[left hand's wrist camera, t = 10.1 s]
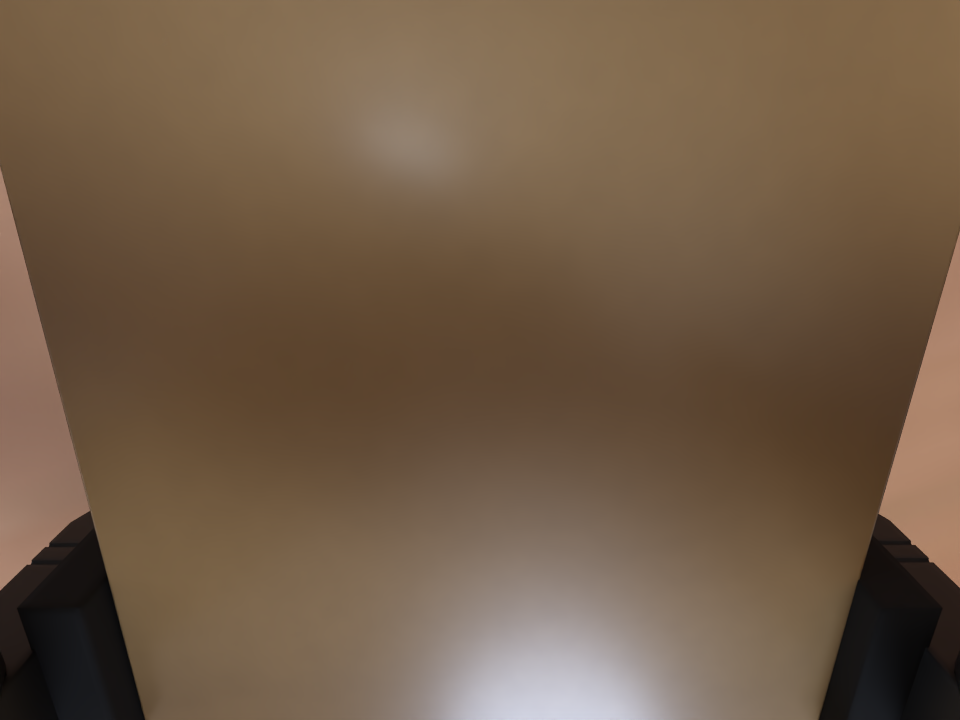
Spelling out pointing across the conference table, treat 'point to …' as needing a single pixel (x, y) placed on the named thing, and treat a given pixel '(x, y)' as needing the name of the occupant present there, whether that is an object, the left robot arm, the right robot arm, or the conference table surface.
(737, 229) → the wide beam
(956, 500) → the conference table surface
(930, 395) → the conference table surface
